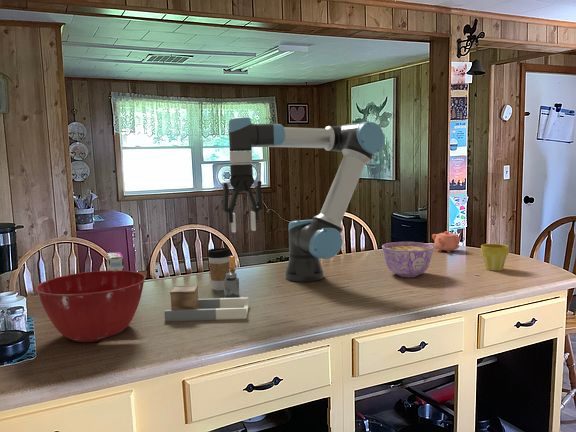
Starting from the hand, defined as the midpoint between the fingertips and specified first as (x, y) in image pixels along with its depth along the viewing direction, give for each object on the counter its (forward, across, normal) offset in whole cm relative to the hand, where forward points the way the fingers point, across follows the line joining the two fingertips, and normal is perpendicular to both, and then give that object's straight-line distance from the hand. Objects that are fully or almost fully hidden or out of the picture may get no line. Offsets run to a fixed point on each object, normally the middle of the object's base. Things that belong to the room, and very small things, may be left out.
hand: (243, 231), depth 174 cm
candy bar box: (+23, +42, -15) cm, 50 cm away
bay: (+23, +18, +16) cm, 33 cm away
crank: (+15, +6, +3) cm, 16 cm away
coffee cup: (+23, +5, -14) cm, 28 cm away
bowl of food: (+23, -67, +2) cm, 71 cm away
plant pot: (+23, -103, +12) cm, 106 cm away
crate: (+22, +24, +14) cm, 35 cm away
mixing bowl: (+23, +50, +16) cm, 57 cm away
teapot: (+23, -112, -28) cm, 118 cm away
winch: (+23, +7, +6) cm, 25 cm away
